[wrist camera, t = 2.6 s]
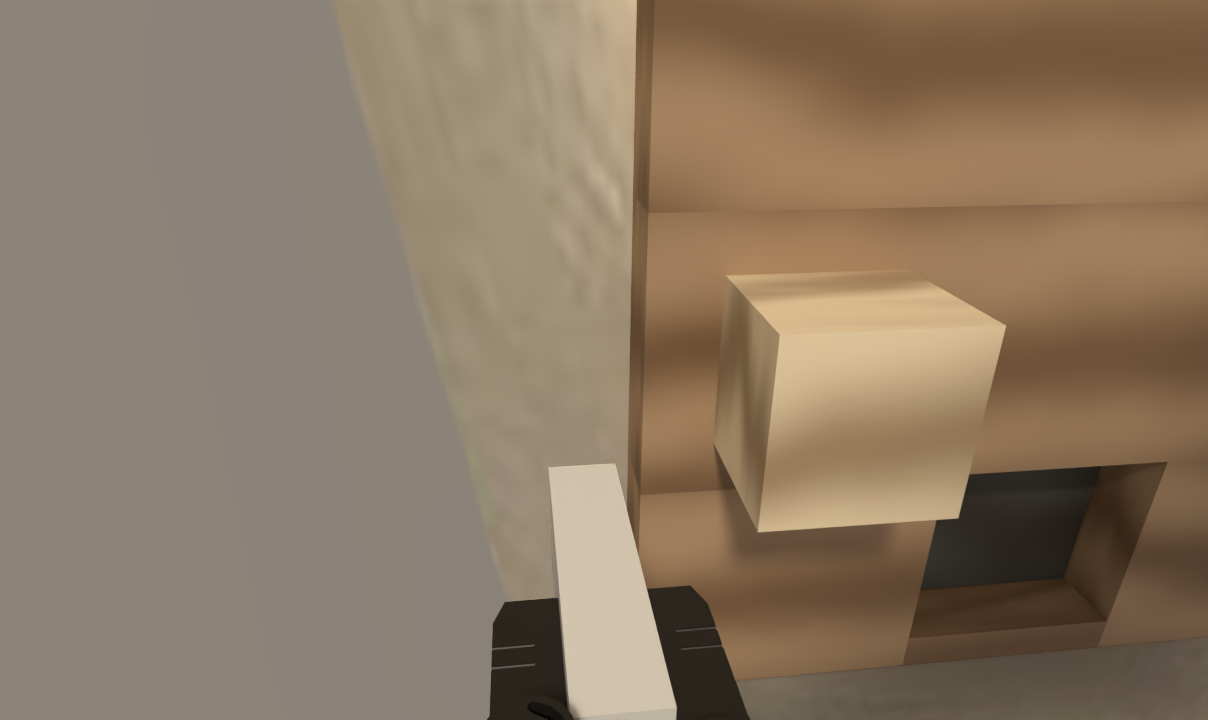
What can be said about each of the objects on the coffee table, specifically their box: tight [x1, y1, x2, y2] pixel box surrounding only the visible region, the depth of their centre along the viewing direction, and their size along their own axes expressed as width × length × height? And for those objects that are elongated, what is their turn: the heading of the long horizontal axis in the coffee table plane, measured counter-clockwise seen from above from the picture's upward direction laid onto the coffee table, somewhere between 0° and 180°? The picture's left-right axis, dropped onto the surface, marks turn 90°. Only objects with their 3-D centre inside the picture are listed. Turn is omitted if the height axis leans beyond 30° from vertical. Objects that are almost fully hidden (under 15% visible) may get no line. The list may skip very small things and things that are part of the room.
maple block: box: [713, 270, 1006, 532], centre depth 21 cm, size 6×6×5 cm
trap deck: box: [627, 0, 1208, 681], centre depth 25 cm, size 29×40×6 cm
